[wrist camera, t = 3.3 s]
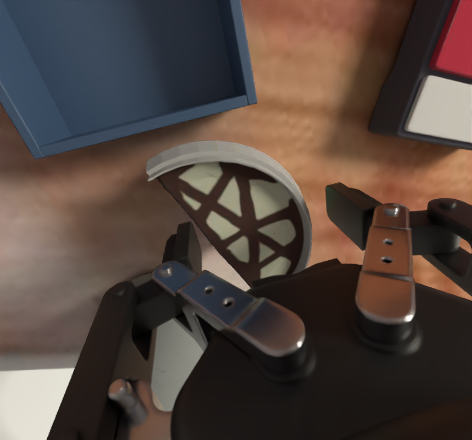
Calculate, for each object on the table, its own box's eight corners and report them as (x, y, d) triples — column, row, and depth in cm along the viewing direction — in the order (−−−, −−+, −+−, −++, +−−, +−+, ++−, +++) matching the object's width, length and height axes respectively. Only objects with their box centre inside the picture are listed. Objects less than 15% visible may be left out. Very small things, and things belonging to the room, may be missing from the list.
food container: (295, 208, 25) (351, 271, 16) (243, 241, 26) (269, 318, 17) (227, 91, 19) (253, 88, 11) (164, 137, 20) (139, 171, 11)
